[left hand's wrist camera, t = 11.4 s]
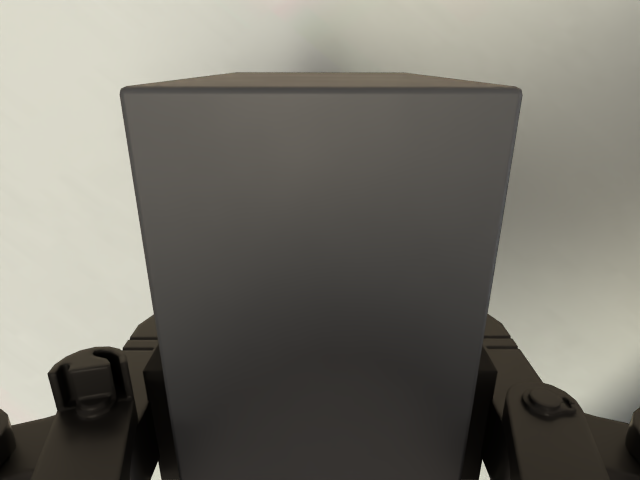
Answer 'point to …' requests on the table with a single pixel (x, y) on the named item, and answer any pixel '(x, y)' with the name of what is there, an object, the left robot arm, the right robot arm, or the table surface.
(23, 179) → the table surface
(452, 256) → the post
